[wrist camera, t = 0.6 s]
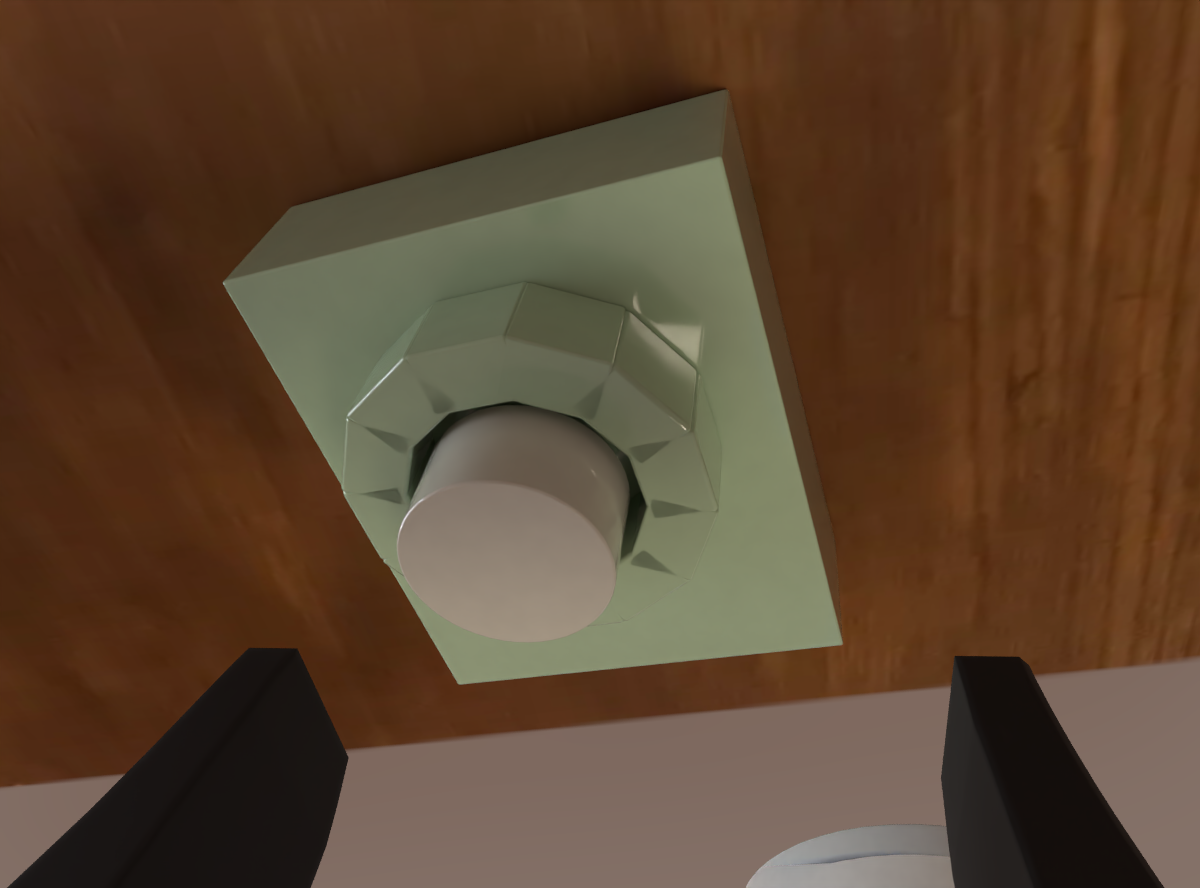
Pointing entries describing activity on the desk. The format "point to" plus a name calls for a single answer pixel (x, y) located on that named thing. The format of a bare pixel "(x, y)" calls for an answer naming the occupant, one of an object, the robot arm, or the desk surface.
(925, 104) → the desk surface
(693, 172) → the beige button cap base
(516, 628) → the beige button cap
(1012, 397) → the desk surface
